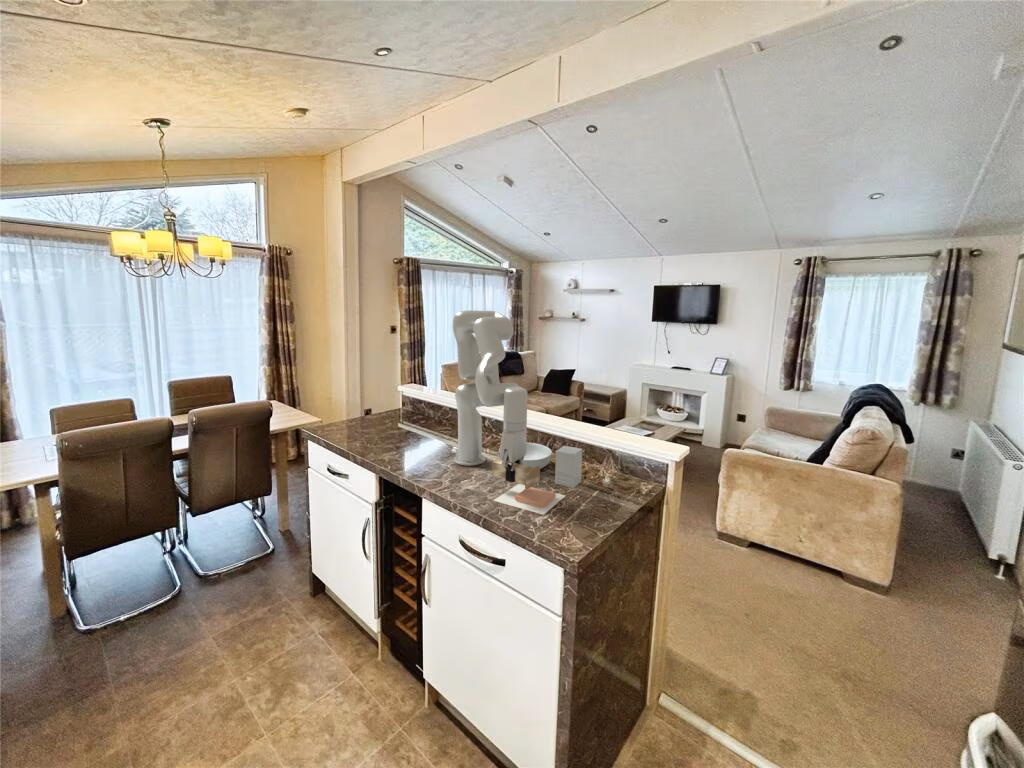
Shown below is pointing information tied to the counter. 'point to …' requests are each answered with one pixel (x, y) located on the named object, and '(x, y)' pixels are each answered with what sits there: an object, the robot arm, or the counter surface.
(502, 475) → the tall beige plank
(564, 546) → the counter surface
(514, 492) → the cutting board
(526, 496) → the tile
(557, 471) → the supplement box
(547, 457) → the serving bowl
